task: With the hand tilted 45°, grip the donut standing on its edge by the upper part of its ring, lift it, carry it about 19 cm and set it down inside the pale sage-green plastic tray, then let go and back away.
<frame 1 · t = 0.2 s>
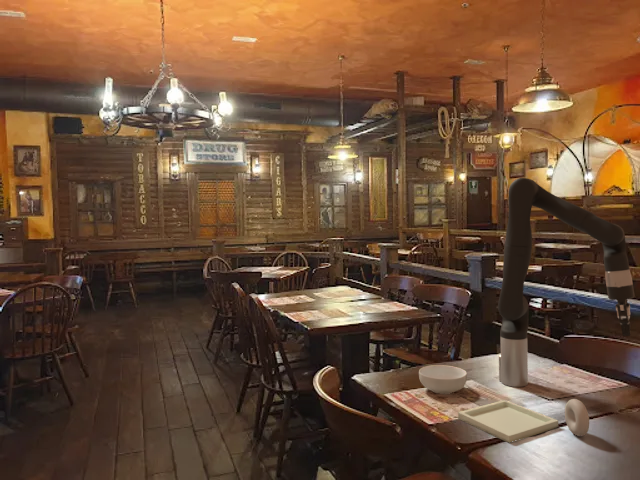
hand: (626, 333, 167), 22 cm above the table, tool pointing down, fingers open, 8 cm apart
tray: (506, 422, 153), on the table
cereal bowl: (443, 391, 183), on the table
donut: (576, 435, 143), on the table
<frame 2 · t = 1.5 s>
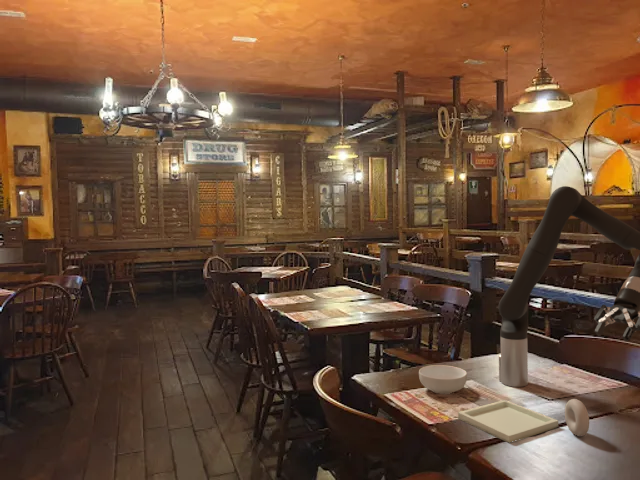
hand: (610, 337, 153), 25 cm above the table, tool tilted 45°, fingers open, 8 cm apart
nothing on the table moved.
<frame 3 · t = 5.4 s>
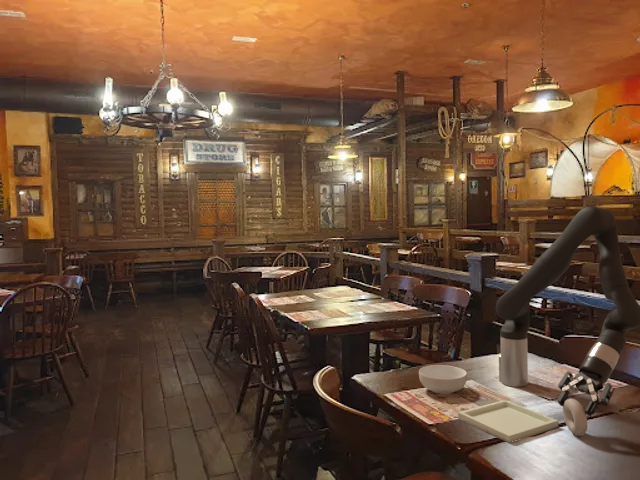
hand: (573, 409, 143), 7 cm above the table, tool tilted 45°, fingers open, 8 cm apart
donut: (576, 434, 143), on the table, touching gripper
everything else where it was.
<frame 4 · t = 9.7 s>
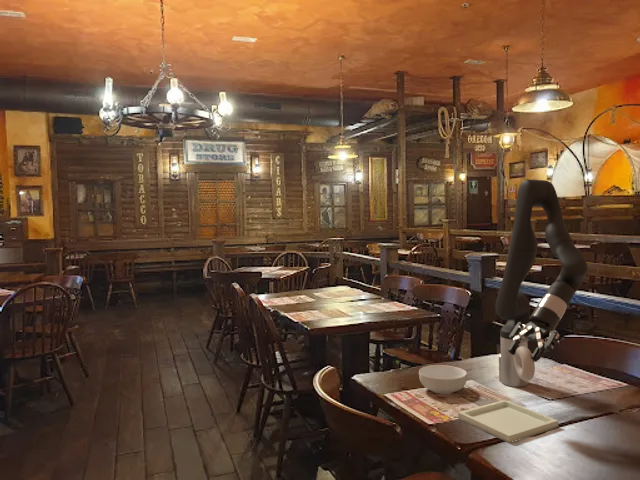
hand: (521, 356, 149), 21 cm above the table, tool tilted 45°, fingers closed on donut, 7 cm apart
donut: (525, 380, 150), point 14 cm above the table, touching gripper
everything else where it was.
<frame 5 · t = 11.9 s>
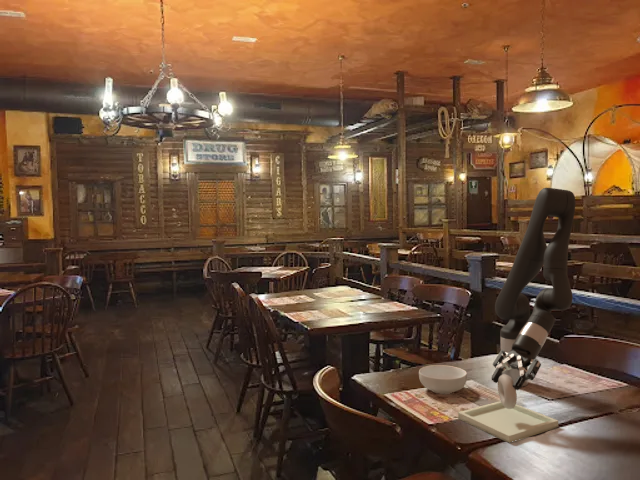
hand: (504, 384, 152), 12 cm above the table, tool tilted 45°, fingers closed on donut, 7 cm apart
donut: (508, 408, 152), point 5 cm above the table, touching gripper
everything else where it was.
when the fingers open (8 cm above the table, at t = 13.7 s): donut stays where it is, resting on tray.
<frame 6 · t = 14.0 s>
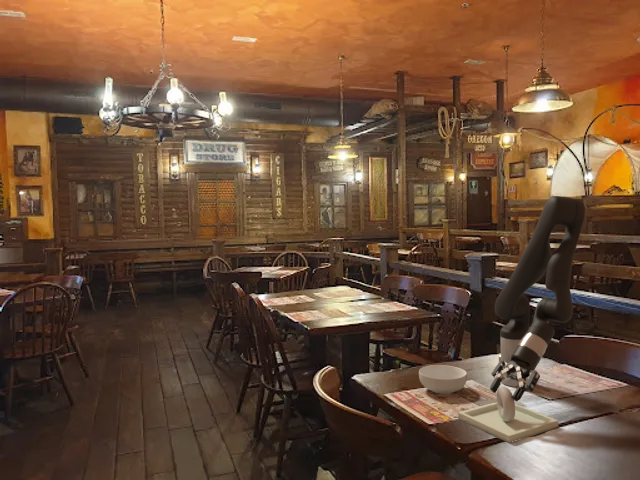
hand: (503, 395, 152), 9 cm above the table, tool tilted 45°, fingers open, 8 cm apart
donut: (506, 421, 153), resting on tray
everything else where it was.
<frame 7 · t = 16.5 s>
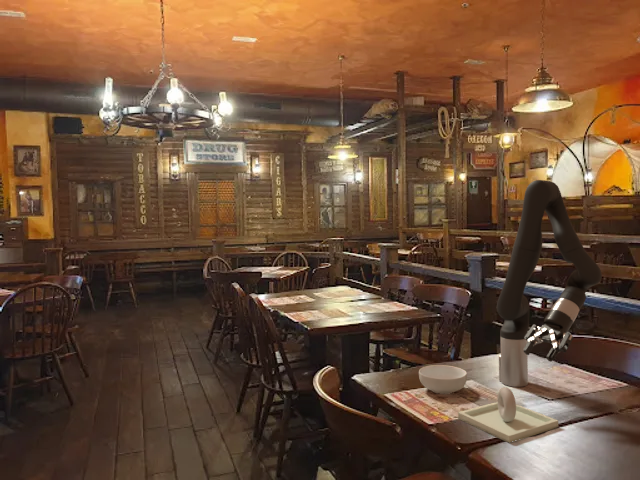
hand: (536, 356, 158), 18 cm above the table, tool tilted 45°, fingers open, 8 cm apart
nothing on the table moved.
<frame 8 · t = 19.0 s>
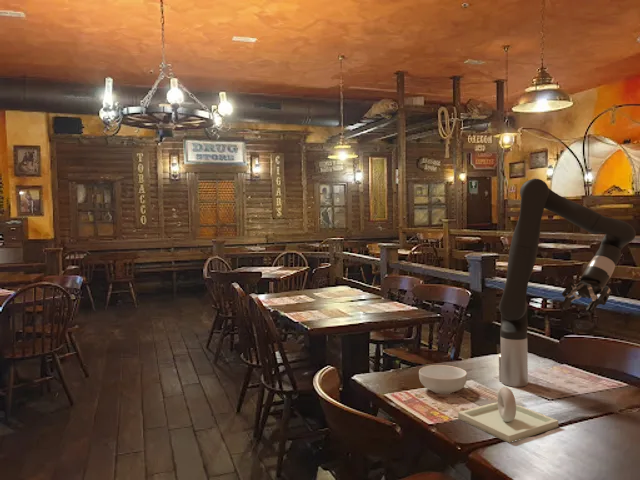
hand: (575, 310, 165), 31 cm above the table, tool tilted 45°, fingers open, 8 cm apart
nothing on the table moved.
at the end: donut inside the target area on the tray (0.1 cm from its centre), point 0.4 cm above the tray's base; the gripper is holding nothing; donut touching tray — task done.
